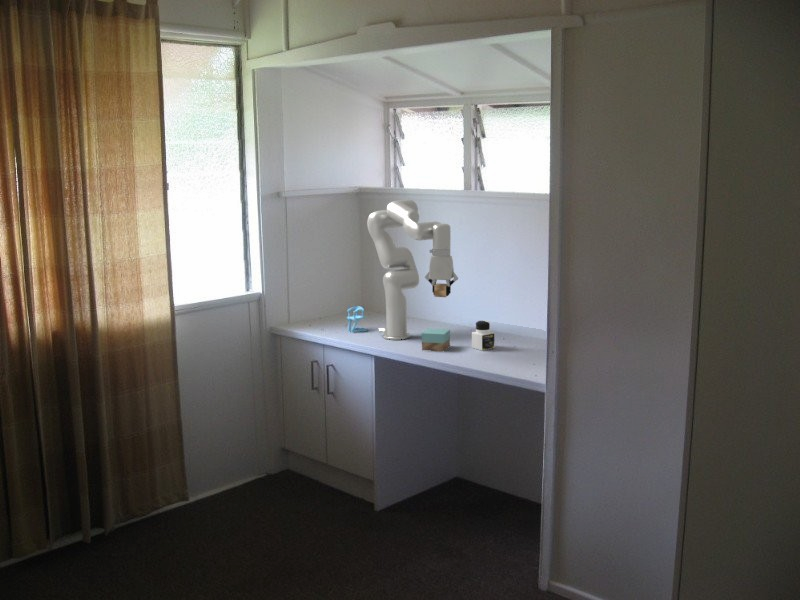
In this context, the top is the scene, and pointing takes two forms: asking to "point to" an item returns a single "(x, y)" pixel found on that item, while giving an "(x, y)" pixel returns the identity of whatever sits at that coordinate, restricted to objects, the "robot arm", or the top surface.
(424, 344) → the walnut slab
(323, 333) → the top surface
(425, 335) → the teal slab
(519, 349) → the top surface
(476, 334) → the medicine bottle
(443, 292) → the oak block
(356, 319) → the chair
